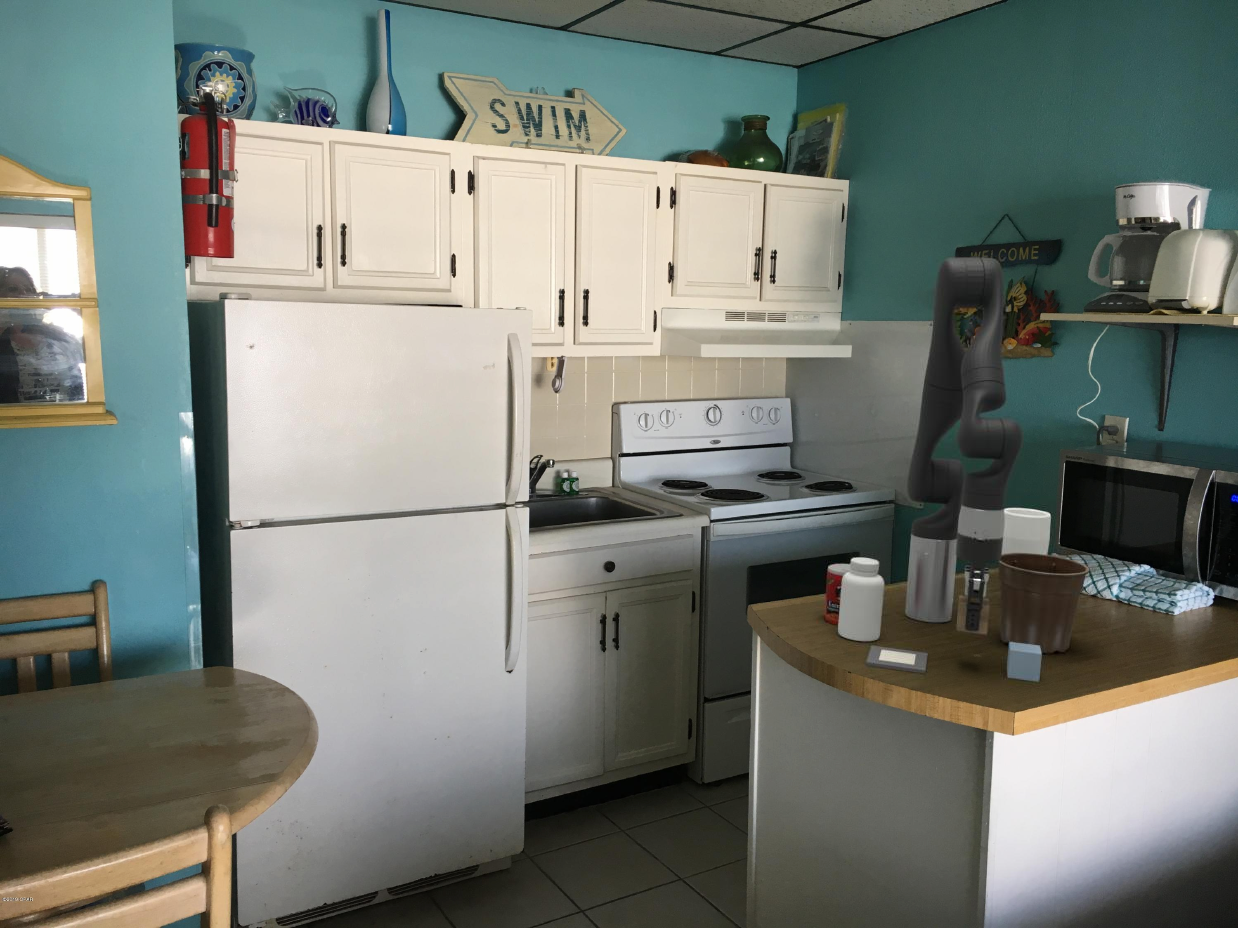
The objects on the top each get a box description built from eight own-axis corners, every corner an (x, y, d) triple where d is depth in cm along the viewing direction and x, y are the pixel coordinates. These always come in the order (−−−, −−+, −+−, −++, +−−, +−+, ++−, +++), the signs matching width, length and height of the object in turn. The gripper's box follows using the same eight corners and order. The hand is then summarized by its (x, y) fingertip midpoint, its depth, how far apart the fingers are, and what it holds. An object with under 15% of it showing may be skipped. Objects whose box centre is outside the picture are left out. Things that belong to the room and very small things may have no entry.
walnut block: (956, 621, 176) (959, 595, 175) (986, 625, 174) (988, 598, 173) (956, 630, 171) (958, 602, 170) (986, 634, 169) (989, 606, 169)
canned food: (821, 623, 196) (824, 570, 195) (828, 613, 204) (831, 561, 202) (859, 628, 194) (863, 574, 192) (865, 618, 201) (869, 566, 199)
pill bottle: (881, 644, 184) (887, 566, 182) (838, 639, 186) (843, 563, 184) (878, 631, 192) (884, 557, 190) (837, 627, 193) (842, 554, 191)
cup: (1047, 608, 213) (1056, 511, 210) (1038, 619, 205) (1048, 518, 202) (997, 600, 219) (1005, 505, 216) (987, 610, 210) (995, 512, 207)
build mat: (871, 648, 181) (871, 644, 181) (927, 656, 178) (927, 652, 178) (865, 665, 172) (866, 661, 172) (925, 673, 169) (925, 669, 169)
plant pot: (1087, 662, 178) (1096, 576, 175) (992, 651, 182) (1000, 567, 180) (1073, 637, 193) (1081, 557, 191) (986, 627, 198) (993, 549, 195)
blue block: (1006, 668, 173) (1009, 641, 172) (1037, 672, 171) (1039, 645, 171) (1007, 677, 168) (1010, 649, 168) (1039, 682, 167) (1041, 654, 166)
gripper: (958, 521, 177) (950, 611, 180) (957, 538, 164) (948, 635, 167) (1002, 525, 175) (993, 616, 178) (1005, 543, 162) (995, 641, 165)
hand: (971, 625), depth 172 cm, fingers closed on walnut block, 5 cm apart
